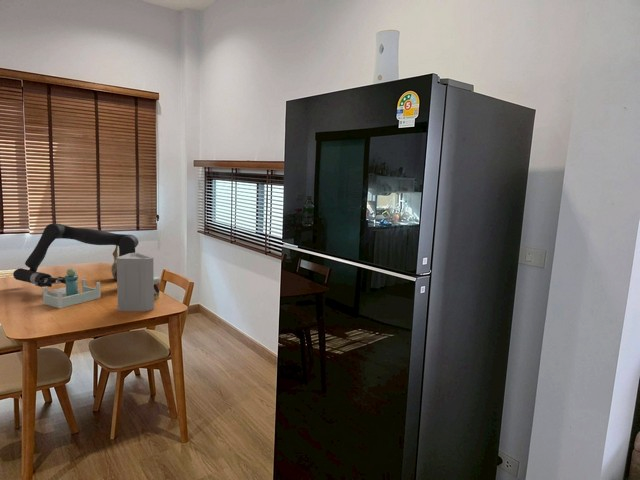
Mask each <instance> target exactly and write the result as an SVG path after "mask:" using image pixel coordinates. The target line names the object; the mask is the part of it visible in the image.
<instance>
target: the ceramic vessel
mask: <svg viewBox="0 0 640 480" xmlns="http://www.w3.org/2000/svg"><path fill="white" fill-rule="evenodd" d="M112 256H113V263H112V264H111V268H110V271H111V275H112V277H113V278H114V279H115V280H116V281H117V257H120V255H119V246H117V245H115V248H114V251H113V252H112Z"/></svg>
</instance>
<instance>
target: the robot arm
mask: <svg viewBox="0 0 640 480" xmlns="http://www.w3.org/2000/svg"><path fill="white" fill-rule="evenodd" d="M56 239H58V240H59V239H65V240H74V241H77V242H80V243H83V244H88V245H94V246H116V245H117V246H118V256H119V255H120V256H123V255H126V254H129V253H136V248H137V246H138V245H139V239H138V237H136V236H135V235H133V234H125V233H124V234H122V233H115V232H110V231H105V230H100V229H95V228H94V229H93V228H87V227H86V228H85V227H80V228H79V227H73V226H69V225H64V224H61V223H49V224H47V225H46V226H45V228H44V230H43V232H42V234H41V236H40V238H39V240H38V243H37V244H36V245H35V247H34V249H33V250H32V252H31V254H30V255H29V256H28V258H26V260H25V262H24V265H25V266H26V267H28V268H29V269H26V268H23V267H22V268H21V267H20V268H17V269H15V270H14V271H13V274H12V275H13V278H14V279H15V280H17V281H21V282H25V283H30V284H33V285H35V286H37V287H39V288H40V287H41V288H43V287H47V288H51V287H53V285H58V284H64V285H66V280H65V276H64V277H63V276H57V277H55V276H52V275H51V274H49V273H45V272H41V271H39V272H38V268H39V266H40V265H41V263H42V262H43V261H44V259H45V258H46V255H47V253H48V249H49V247H50V246H51V244H52V243H53V242H54V241H55V240H56Z"/></svg>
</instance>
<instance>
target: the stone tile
mask: <svg viewBox="0 0 640 480" xmlns="http://www.w3.org/2000/svg"><path fill="white" fill-rule="evenodd" d="M57 291H62V298H63V297H66V286H65V287H60V288H55V289H50V290H47V294H48V295H50V296H54V297H57ZM80 293H81V289H78V294H80Z"/></svg>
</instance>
